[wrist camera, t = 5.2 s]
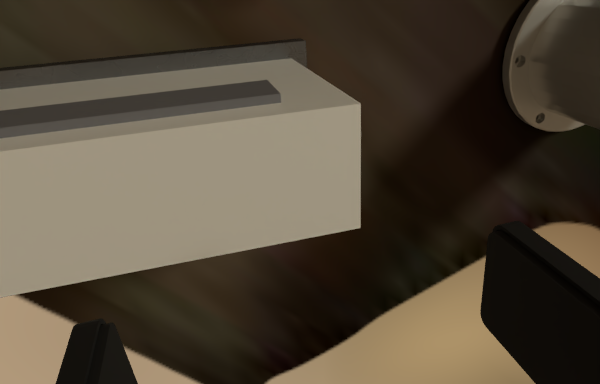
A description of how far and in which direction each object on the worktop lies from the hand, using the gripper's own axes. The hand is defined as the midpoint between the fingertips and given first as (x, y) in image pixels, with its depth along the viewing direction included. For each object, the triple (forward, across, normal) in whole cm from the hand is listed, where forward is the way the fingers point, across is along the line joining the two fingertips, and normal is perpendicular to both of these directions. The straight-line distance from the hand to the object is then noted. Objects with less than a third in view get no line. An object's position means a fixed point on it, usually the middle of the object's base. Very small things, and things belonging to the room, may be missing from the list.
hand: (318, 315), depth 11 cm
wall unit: (+22, +5, 0) cm, 23 cm away
